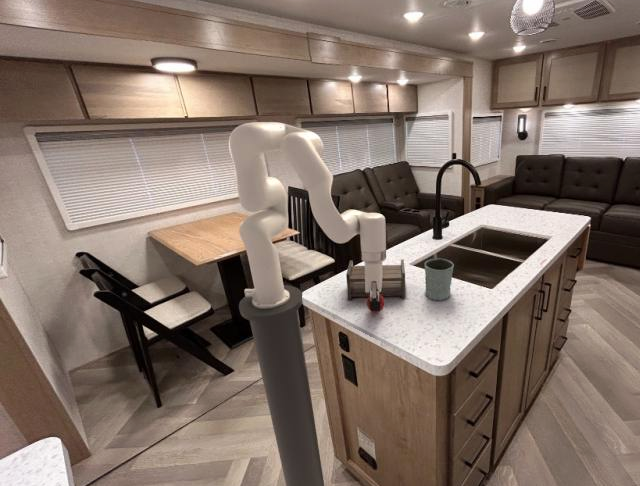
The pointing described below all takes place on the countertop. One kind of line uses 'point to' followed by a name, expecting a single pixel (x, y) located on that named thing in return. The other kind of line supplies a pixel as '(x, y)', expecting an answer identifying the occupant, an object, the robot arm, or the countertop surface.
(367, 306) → the onion
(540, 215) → the countertop surface
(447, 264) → the green cup
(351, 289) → the wooden crate
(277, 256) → the robot arm
